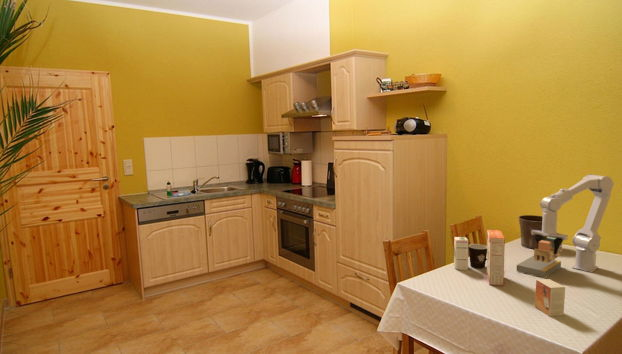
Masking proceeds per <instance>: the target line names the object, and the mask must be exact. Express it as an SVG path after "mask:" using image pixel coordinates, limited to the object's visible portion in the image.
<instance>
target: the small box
mask: <svg viewBox="0 0 622 354" xmlns="http://www.w3.org/2000/svg"><path fill="white" fill-rule="evenodd" d="M565 296H566V287H565V286H564V285H561V284H559V283H558V282H556V281H553V280H552V279H549V278H548V279H545V278H543V279H536V281H535V296H534V299H535V300H534V307H535V308H537V309H538V310H540V311H541V312H542V313H544V314H545V315H547V316H548V317H556V316H558V317H559V316H564V313H565V310H564V309H565Z"/></svg>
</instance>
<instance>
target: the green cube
mask: <svg viewBox="0 0 622 354" xmlns="http://www.w3.org/2000/svg"><path fill="white" fill-rule="evenodd" d="M554 239H556V238H552V237H547V238H546V241H550V242H552V245H551V247H553V248H554Z"/></svg>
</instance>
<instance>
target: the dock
mask: <svg viewBox="0 0 622 354" xmlns="http://www.w3.org/2000/svg"><path fill="white" fill-rule="evenodd" d="M560 268H562V260H557V259H554V260H552V261H551V262H549V263H544V261H543V262H539V260H538V261H534V255H532V256H531V257H529V258H526V259H525V260H523V261H522V262H519V263H517V264H516V272H519V273H523V274H526V275H527V274H528V275H530V274H531V275H530V276H535V275H536V277H539V276H540V277H539V278H543V277H546V276H547V277H549V276H550V275H551V273H552V274H553V273H554V272H556V271H557V270H559V269H560ZM548 275H549V276H548ZM547 277H546V278H547Z"/></svg>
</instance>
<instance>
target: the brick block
mask: <svg viewBox="0 0 622 354" xmlns="http://www.w3.org/2000/svg"><path fill="white" fill-rule="evenodd" d="M551 245H552V242H550V241H544V240H541V241H539V244H538V249H540V250H545V251H548V252H549V251H551Z"/></svg>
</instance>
